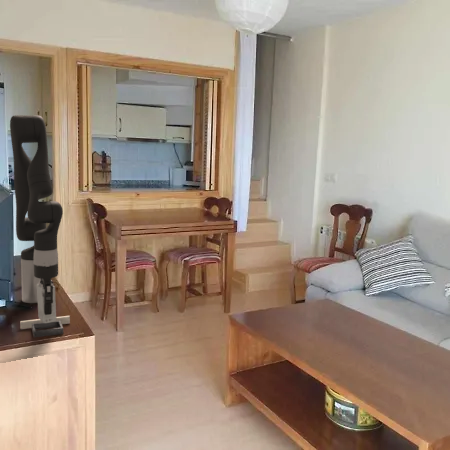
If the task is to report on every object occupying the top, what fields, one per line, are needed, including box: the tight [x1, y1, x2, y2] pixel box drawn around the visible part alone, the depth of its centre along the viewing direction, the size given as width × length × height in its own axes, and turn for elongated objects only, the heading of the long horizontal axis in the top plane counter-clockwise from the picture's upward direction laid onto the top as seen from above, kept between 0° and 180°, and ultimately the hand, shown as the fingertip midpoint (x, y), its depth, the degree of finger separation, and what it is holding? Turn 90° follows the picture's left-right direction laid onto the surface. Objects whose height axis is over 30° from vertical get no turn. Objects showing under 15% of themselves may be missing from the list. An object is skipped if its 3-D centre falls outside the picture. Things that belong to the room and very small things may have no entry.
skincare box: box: [37, 284, 57, 323], centre depth 158 cm, size 6×4×12 cm
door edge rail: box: [19, 315, 71, 330], centre depth 165 cm, size 1×16×2 cm, turn 117°
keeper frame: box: [31, 321, 64, 338], centre depth 160 cm, size 7×9×2 cm
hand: (46, 310), depth 159 cm, fingers closed on skincare box, 6 cm apart
